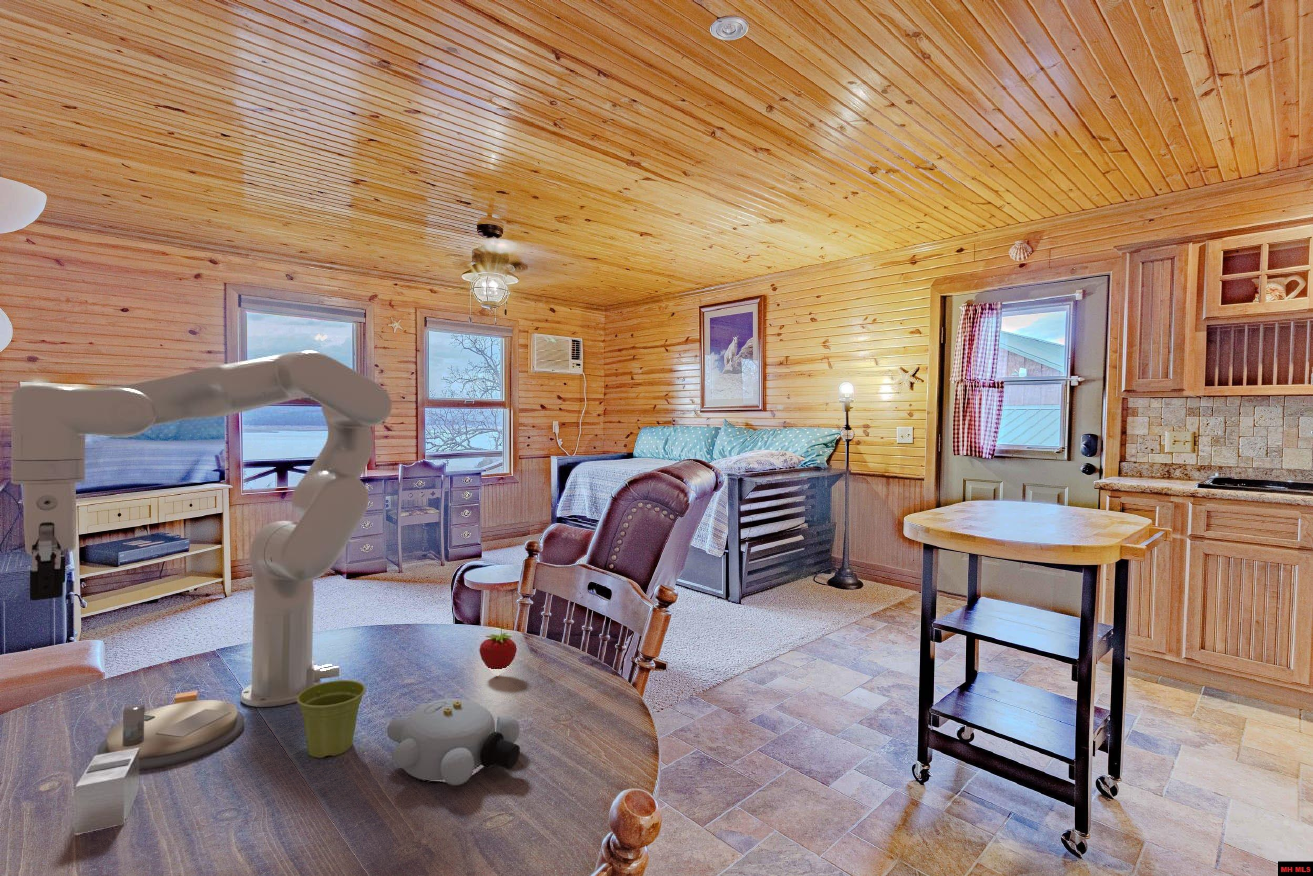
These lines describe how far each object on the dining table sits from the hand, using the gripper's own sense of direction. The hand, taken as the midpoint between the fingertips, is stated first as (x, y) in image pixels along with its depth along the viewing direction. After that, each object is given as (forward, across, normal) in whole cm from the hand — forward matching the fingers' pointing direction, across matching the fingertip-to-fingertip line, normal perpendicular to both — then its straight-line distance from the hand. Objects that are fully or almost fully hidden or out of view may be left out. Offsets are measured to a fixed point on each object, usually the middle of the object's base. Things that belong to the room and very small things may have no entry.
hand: (48, 591), depth 88 cm
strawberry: (+26, -12, -65) cm, 71 cm away
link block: (+25, -21, -6) cm, 33 cm away
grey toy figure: (+26, -37, -45) cm, 64 cm away
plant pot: (+25, -21, -32) cm, 46 cm away
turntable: (+24, -3, -14) cm, 28 cm away
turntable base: (+25, -2, -15) cm, 29 cm away
